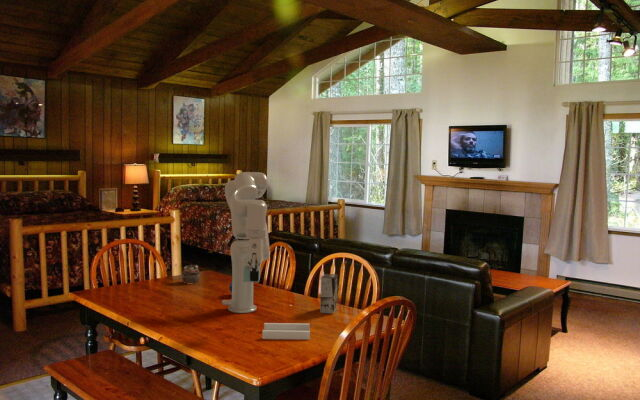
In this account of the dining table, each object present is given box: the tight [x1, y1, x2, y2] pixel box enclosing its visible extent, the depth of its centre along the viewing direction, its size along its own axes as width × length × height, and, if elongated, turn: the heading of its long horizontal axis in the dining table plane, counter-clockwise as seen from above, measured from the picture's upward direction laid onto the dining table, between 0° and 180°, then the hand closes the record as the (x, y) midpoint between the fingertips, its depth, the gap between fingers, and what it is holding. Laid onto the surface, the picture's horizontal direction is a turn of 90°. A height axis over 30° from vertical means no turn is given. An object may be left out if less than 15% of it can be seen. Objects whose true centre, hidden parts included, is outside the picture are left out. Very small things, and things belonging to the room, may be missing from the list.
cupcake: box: [181, 263, 200, 283], centre depth 295 cm, size 10×10×10 cm
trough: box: [261, 322, 311, 341], centre depth 210 cm, size 18×10×3 cm, turn 92°
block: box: [243, 265, 261, 283], centre depth 213 cm, size 6×6×5 cm
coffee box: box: [319, 273, 339, 315], centre depth 245 cm, size 9×6×16 cm
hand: (255, 278), depth 214 cm, fingers closed on block, 6 cm apart
